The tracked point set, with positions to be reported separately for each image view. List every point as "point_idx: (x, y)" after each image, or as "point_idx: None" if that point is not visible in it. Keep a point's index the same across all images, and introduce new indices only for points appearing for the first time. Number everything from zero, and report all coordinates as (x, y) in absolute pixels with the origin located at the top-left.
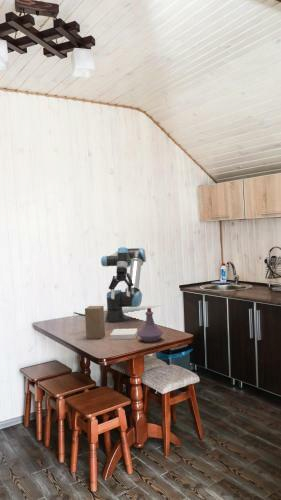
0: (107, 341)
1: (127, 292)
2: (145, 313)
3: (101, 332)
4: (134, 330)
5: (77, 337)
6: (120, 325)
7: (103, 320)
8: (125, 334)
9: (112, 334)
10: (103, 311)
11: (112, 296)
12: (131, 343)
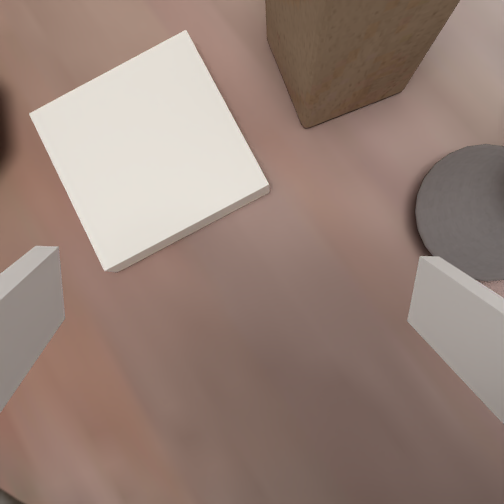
0: (185, 6)
1: (8, 270)
2: None
3: (271, 29)
4: (91, 206)
5: None
6: (386, 440)
7: (300, 47)
8: (90, 82)
9: (179, 46)
10: (313, 6)
11: (434, 284)
12: (15, 29)
